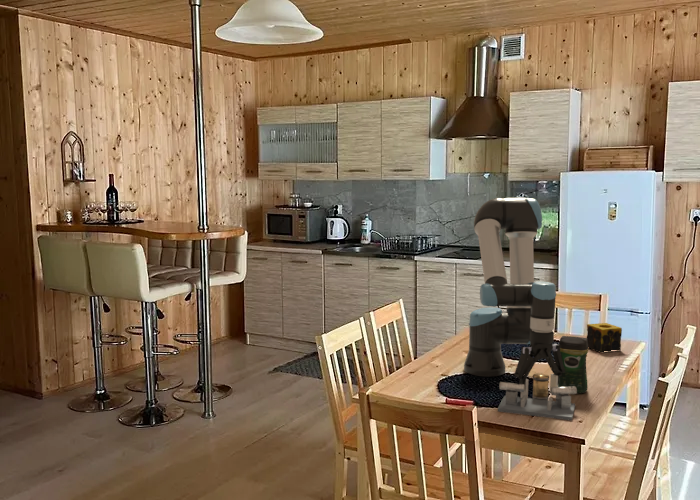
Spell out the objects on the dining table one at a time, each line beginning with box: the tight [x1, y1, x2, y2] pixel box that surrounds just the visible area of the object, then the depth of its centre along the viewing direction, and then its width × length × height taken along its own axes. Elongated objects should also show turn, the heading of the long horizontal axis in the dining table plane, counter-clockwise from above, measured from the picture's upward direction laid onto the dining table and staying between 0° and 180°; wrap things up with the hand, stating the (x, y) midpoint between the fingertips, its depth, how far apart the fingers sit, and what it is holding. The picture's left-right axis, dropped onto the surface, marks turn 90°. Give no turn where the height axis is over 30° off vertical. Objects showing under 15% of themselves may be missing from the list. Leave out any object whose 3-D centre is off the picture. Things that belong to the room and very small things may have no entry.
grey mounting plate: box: [497, 395, 576, 421], centre depth 214 cm, size 22×13×3 cm, turn 68°
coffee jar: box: [558, 335, 589, 394], centre depth 231 cm, size 10×8×19 cm
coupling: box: [532, 372, 550, 400], centre depth 223 cm, size 5×5×8 cm
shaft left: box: [498, 381, 525, 405], centre depth 217 cm, size 8×4×6 cm, turn 68°
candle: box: [586, 322, 623, 353], centre depth 285 cm, size 10×10×10 cm
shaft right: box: [550, 386, 578, 409], centre depth 213 cm, size 8×4×6 cm, turn 98°
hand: (538, 396), depth 223 cm, fingers open, 11 cm apart
